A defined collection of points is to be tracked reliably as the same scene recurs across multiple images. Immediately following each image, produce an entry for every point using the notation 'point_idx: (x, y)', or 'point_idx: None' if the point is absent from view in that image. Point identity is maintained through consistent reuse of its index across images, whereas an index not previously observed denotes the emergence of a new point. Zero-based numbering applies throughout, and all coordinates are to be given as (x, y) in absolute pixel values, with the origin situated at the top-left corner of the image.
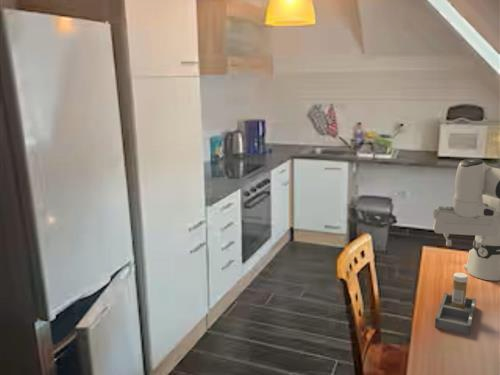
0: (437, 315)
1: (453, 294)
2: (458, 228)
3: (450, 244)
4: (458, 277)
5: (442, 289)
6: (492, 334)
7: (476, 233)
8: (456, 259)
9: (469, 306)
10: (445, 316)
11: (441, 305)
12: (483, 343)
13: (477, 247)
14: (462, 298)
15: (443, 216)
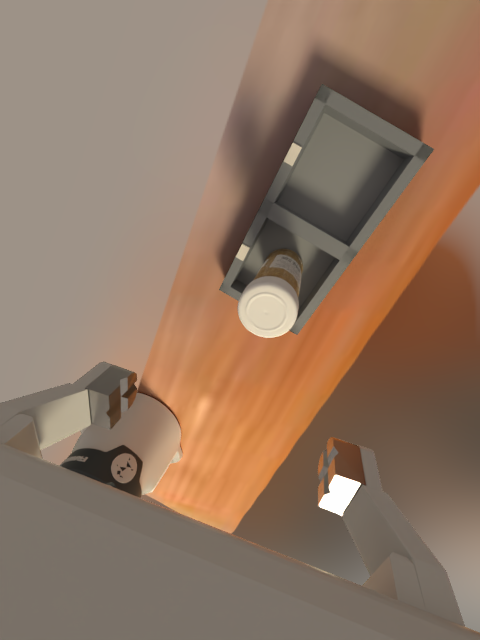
0: (408, 178)
1: (300, 280)
2: None
3: (342, 451)
4: (287, 291)
5: (274, 378)
6: (242, 104)
7: (22, 489)
8: (185, 484)
9: (242, 283)
10: (342, 228)
11: (349, 256)
12: (299, 26)
13: (128, 370)
14: (275, 259)
15: None
